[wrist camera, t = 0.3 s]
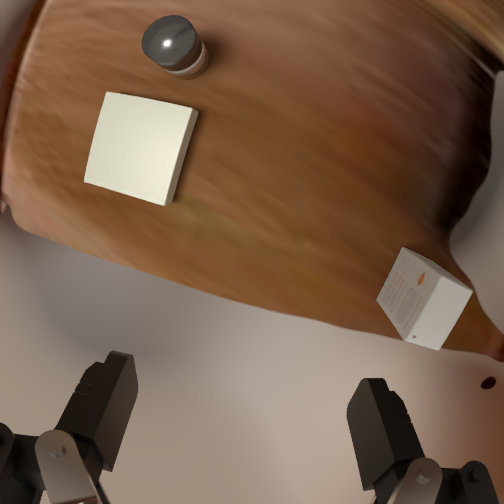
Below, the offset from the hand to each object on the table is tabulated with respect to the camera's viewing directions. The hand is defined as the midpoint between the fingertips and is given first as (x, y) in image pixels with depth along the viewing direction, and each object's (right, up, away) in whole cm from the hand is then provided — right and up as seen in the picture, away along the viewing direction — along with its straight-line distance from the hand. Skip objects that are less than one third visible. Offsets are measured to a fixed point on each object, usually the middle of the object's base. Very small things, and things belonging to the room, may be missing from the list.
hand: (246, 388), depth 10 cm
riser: (-13, +17, +23) cm, 32 cm away
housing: (-7, +27, +20) cm, 34 cm away
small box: (+20, +1, +27) cm, 34 cm away
